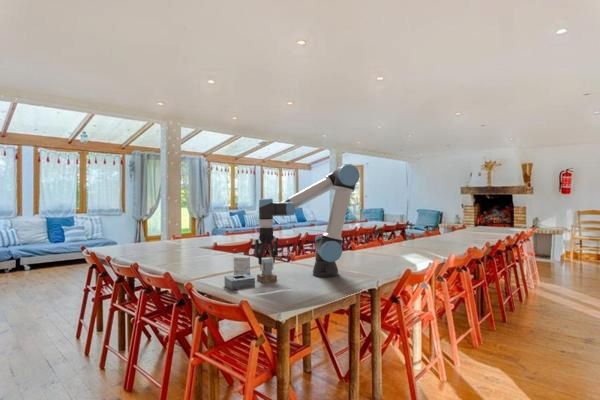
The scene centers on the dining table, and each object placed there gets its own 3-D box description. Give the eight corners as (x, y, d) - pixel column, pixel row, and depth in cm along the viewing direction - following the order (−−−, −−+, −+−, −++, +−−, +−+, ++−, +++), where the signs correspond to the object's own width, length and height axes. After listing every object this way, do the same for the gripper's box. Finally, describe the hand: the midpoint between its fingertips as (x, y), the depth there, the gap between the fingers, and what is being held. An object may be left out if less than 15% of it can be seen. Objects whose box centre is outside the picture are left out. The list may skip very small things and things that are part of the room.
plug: (268, 279, 191) (268, 257, 190) (272, 280, 187) (271, 258, 187) (261, 280, 188) (261, 258, 188) (265, 281, 185) (264, 259, 185)
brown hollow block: (270, 279, 193) (270, 272, 193) (276, 282, 186) (276, 275, 186) (257, 281, 189) (257, 274, 189) (263, 284, 182) (263, 277, 182)
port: (246, 282, 187) (246, 273, 187) (254, 287, 177) (254, 277, 177) (224, 285, 181) (224, 275, 181) (232, 291, 171) (232, 280, 171)
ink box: (250, 276, 202) (250, 256, 202) (247, 278, 197) (246, 257, 197) (237, 275, 204) (237, 255, 204) (233, 277, 199) (233, 257, 199)
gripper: (278, 225, 195) (278, 266, 196) (247, 227, 186) (248, 270, 186) (284, 226, 189) (285, 269, 189) (253, 228, 180) (253, 273, 180)
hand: (266, 269), depth 188 cm, fingers open, 5 cm apart
